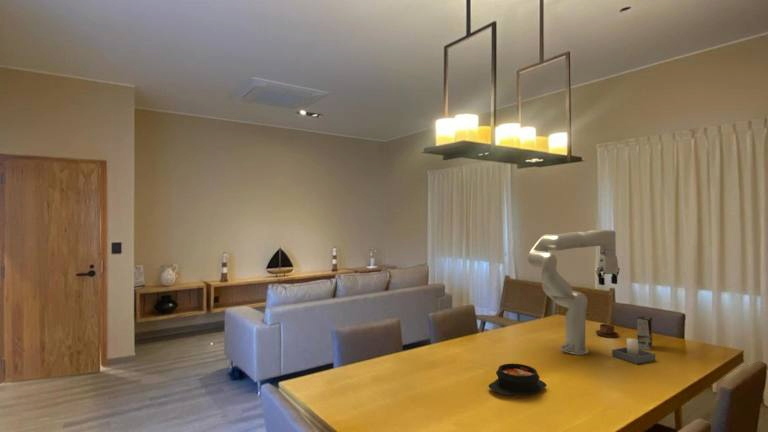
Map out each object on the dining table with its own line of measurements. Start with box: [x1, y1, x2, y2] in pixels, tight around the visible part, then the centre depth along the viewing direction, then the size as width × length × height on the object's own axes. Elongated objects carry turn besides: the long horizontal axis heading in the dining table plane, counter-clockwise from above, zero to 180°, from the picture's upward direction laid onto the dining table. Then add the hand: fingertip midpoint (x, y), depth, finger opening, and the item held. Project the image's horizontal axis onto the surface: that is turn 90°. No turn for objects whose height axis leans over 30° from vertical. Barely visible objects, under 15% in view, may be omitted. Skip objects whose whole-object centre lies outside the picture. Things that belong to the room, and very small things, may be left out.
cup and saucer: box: [595, 323, 619, 338], centre depth 250 cm, size 12×12×6 cm
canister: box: [625, 337, 639, 357], centre depth 209 cm, size 5×5×9 cm
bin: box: [611, 346, 656, 366], centre depth 208 cm, size 13×13×4 cm
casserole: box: [488, 363, 547, 397], centre depth 171 cm, size 25×19×8 cm
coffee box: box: [636, 315, 653, 351], centre depth 227 cm, size 9×6×16 cm
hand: (607, 284), depth 227 cm, fingers open, 9 cm apart
